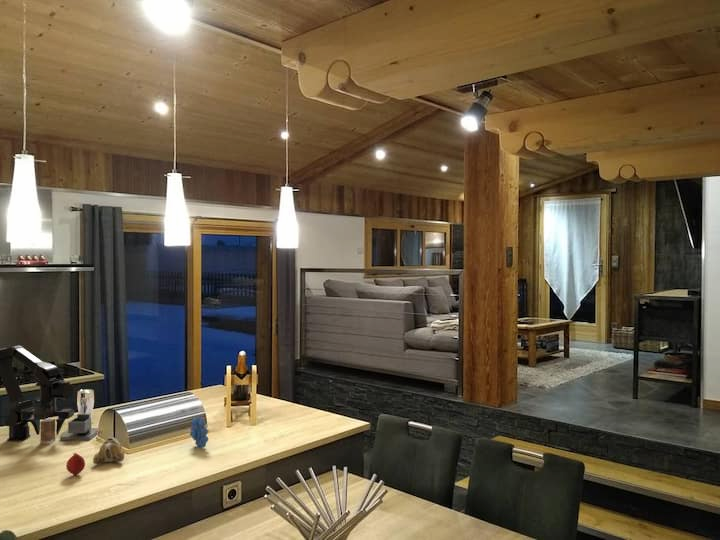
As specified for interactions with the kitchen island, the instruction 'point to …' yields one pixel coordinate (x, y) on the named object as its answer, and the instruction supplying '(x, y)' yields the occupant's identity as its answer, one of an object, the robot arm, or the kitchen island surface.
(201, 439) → the grapes
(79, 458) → the onion
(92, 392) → the beer glass
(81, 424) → the bracket
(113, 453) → the ceramic sculpture
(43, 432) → the brown rectangular block
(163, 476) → the kitchen island surface
